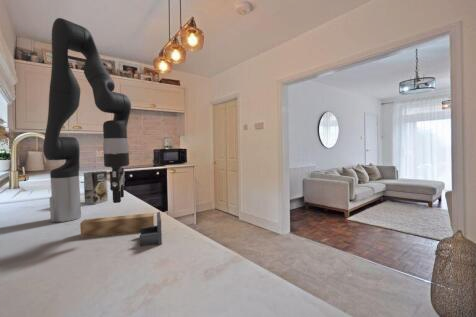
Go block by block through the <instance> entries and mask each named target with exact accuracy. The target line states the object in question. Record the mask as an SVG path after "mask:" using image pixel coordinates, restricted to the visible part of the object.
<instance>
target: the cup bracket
mask: <svg viewBox="0 0 476 317" xmlns="http://www.w3.org/2000/svg"><path fill="white" fill-rule="evenodd" d="M161 216H162V215H161V211H158V212H156V225H154V226H149V227H141V231H140V234H139V247H141V246H142V247H145V246H149V245H156V244H157V245H158V246H160V245H162V244H163V242H162V240H163V239H162V238H163V237H162V236H163V234H162V218H161Z"/></svg>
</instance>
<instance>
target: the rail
mask: <svg viewBox="0 0 476 317" xmlns="http://www.w3.org/2000/svg"><path fill="white" fill-rule="evenodd" d="M79 224H80V226H79V227H80V228H79V229H80V238H89V237H98V236H100V237H101V236H105V235H106V236H107V235H108V236H109V235H116V234H123V233H124V234H125V233H133V232H141V227H149V226H155V212H149V213H140V214H130V215H128V214H127V215H118V216H117V215H116V216H107V217H95V218H86V219H83V220H82V221H81V222H80V223H79Z"/></svg>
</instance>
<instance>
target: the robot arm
mask: <svg viewBox="0 0 476 317" xmlns="http://www.w3.org/2000/svg"><path fill="white" fill-rule="evenodd" d="M51 27H52V28H51V72H50V73H51V74H50V82H49V94H48V108H47V109H48V110H47V111H48V113H47V123H46V128H45V133H44V139H43V147H42V151H43V152H42V153H43V155H44V158H45V159H46V160H48V161H65V162H64V163H63V164H62V165H61V166H59V167H56V168H54V169H51V171H50V172H49V173H50V174H49V177H50V191H51V192H50V193H51V197H49V213H50V214H49V215H50V222H51V223H55V222H56V223H61V222H62V223H65V222H70V221H74V220H77V219H80V218H81V217H82V210H81V209H82V208H81V207H82V206H81V191H80V190H81V188H80V187H81V186H80V143H79V141H78V139H77V138H76V137H74V136H60V134H61V130H62V128H63V126H64V125H65V124H66V122H68V120H69V119H70V118H71V117H72V116H73V115H74V114H75V113H76V111H77V110H78V109H79V106H80V100H81V86H80V84H79V81H78V80H77V78H76V76H75V74H74V72H73V70H72V69H71V66H70V62H69V51H72V52H76V53H80V54H82V55H83V57H84V58H85V62H84V65H83V74H84V77H85V78H86V80H87V82H88V84H89V85H90V88H91V90H92V96H93V99H94V104H95V106H96V108H97V109H98V110H100V111H101V112H102V113H107V114H114V116H113V118H112V120H106V121H104V122H103V124H102V132H103V142H102V143H103V144H102V145H103V146H102V147H103V149H102V150H103V164H104V165H103V166H104V168H105V167H106V168H111V170H110V171H109V182H110V184H109V185H110V188H109V189H110V191H111V192H112V202H113V203H114V204H117V203H118V204H119V203H121V201H122V198H124V197H125V192H124V191H125V190H124V189H125V183H126V182H125V181H126V178H125V175H126V174H125V168H124V167H127V166H129V165H130V154H129V143H128V142H129V141H128V129H127V128H128V122H129V117H130V114H131V111H132V110H131V109H132V104H131V100H130V98H129V97H128V96H127V95H126V94H124V93H120V92H115V91H114V90H115V83H114V81H113V79H112V77H111V75H110V74H109V72H108V71H107V69H106V67H105V65H104V63H103V60H102V59H101V55H100V52H99V49H98V47H97V44H96V43H95V40H94V37H93V35H92V33H91V32H90V31H89V30H88V28H86V27H84V26H82V25H79V24H77V23H74V22H72V21H70V20H67V19H65V18H61V17H58V18H56V19H55V20H54V22H53V24H52V26H51Z"/></svg>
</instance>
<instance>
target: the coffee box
mask: <svg viewBox="0 0 476 317" xmlns="http://www.w3.org/2000/svg"><path fill="white" fill-rule="evenodd" d="M83 189H84V191H83V192H84V205H97V204H101V203H104V202H106V201H108V200H109V195H108V172H107V171H105V170H102V171H99V170H98V171H91V172H83Z"/></svg>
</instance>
